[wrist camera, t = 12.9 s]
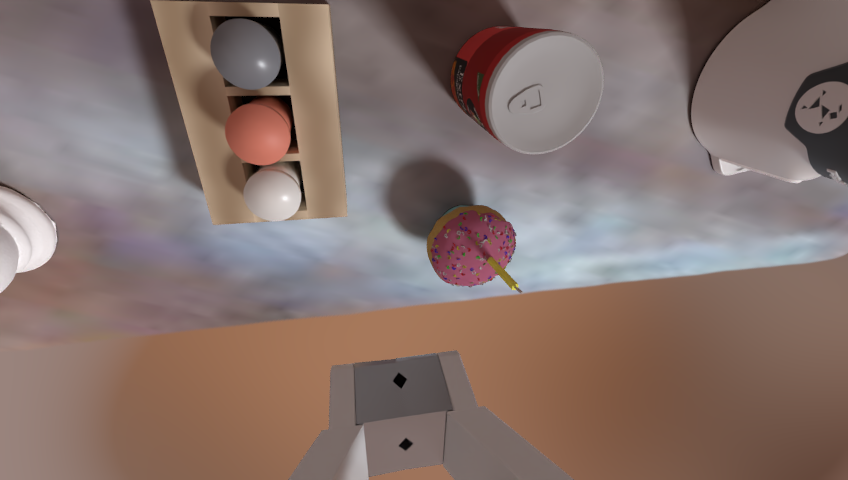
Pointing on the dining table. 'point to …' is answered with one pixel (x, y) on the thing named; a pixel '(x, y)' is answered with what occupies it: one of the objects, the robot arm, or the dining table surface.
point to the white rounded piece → (274, 190)
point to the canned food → (528, 85)
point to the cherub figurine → (23, 235)
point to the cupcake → (472, 246)
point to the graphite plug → (247, 53)
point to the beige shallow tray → (217, 98)
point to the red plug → (260, 130)
